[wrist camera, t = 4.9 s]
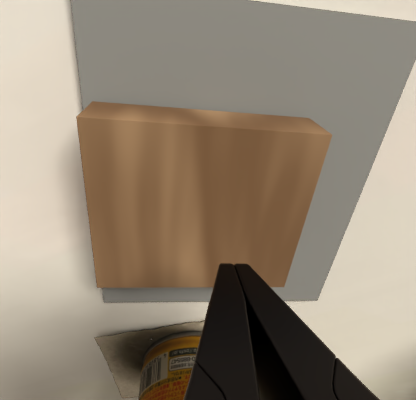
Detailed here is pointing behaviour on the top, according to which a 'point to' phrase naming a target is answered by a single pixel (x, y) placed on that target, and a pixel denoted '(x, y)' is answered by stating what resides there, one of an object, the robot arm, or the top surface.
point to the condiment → (153, 360)
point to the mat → (256, 93)
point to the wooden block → (195, 192)
